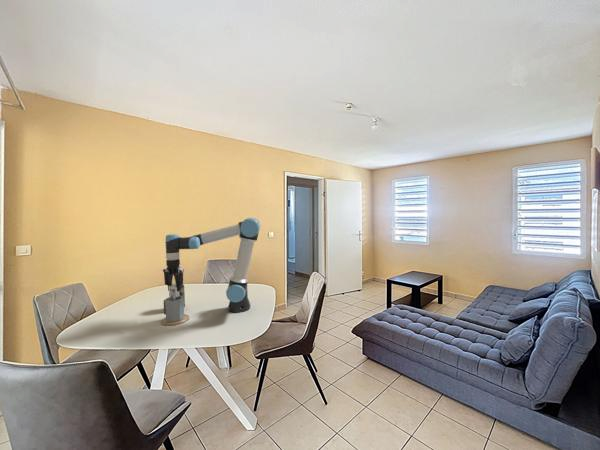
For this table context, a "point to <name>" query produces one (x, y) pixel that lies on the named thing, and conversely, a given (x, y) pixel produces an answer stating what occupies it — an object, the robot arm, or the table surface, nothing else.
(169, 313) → the press carafe
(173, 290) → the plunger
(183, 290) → the canister
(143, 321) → the table surface
